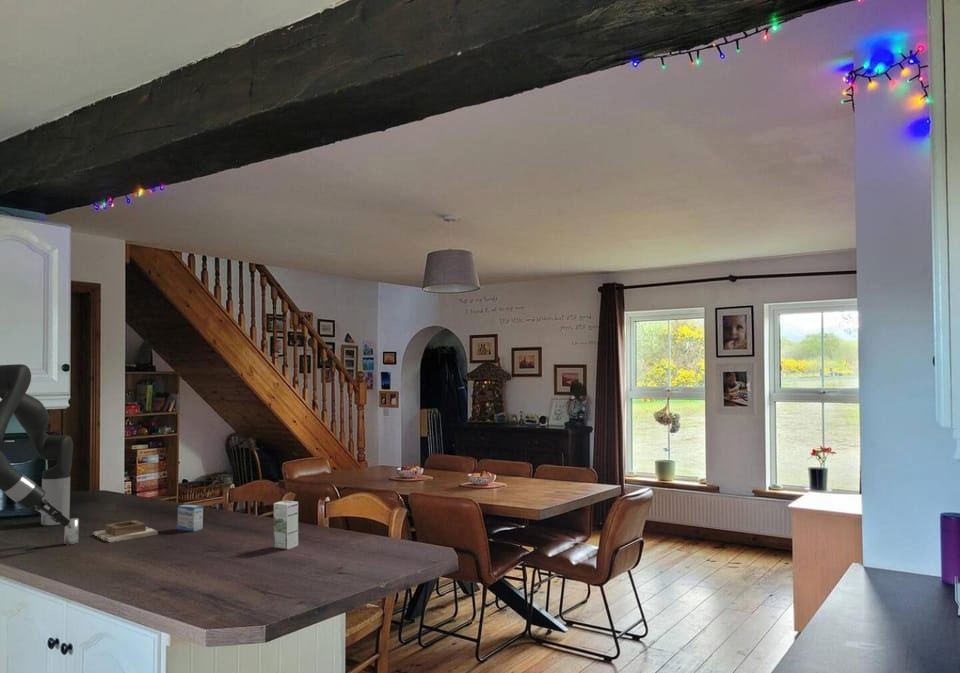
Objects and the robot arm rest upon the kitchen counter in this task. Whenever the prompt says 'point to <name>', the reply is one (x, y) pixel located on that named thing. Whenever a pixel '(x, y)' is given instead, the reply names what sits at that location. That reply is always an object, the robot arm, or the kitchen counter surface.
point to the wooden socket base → (124, 531)
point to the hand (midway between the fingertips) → (63, 522)
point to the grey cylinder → (72, 531)
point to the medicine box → (190, 518)
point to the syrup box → (285, 524)
